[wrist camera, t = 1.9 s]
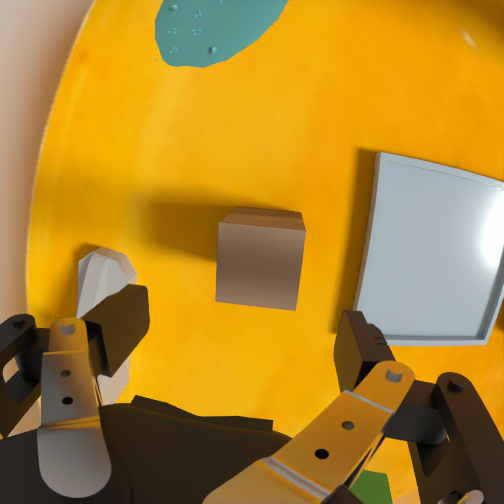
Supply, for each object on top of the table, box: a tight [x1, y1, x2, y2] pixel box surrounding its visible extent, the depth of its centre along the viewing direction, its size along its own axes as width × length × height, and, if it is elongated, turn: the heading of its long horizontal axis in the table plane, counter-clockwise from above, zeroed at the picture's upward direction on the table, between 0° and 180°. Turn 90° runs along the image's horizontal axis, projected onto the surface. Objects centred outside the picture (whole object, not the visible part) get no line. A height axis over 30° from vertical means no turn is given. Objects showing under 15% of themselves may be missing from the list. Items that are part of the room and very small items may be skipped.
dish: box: [352, 152, 504, 346], centre depth 23 cm, size 16×16×1 cm
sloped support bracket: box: [76, 247, 137, 405], centre depth 26 cm, size 6×18×8 cm, turn 165°
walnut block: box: [216, 207, 306, 311], centre depth 22 cm, size 5×5×7 cm
